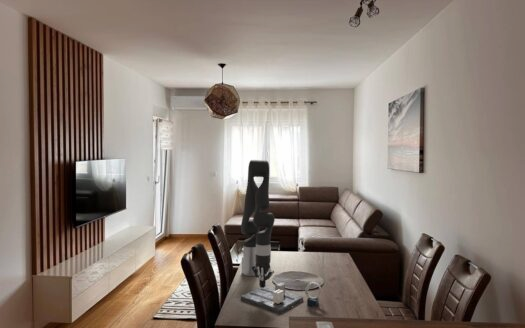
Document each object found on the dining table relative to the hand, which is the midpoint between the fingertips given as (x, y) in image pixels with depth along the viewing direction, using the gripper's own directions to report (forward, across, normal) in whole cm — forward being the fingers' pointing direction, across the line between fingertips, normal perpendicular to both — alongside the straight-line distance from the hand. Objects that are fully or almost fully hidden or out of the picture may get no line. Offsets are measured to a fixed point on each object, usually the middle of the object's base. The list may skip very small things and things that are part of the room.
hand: (262, 287), depth 184 cm
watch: (+7, +21, +13) cm, 26 cm away
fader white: (+4, +10, 0) cm, 11 cm away
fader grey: (+5, +5, +8) cm, 11 cm away
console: (+7, +3, +4) cm, 9 cm away
